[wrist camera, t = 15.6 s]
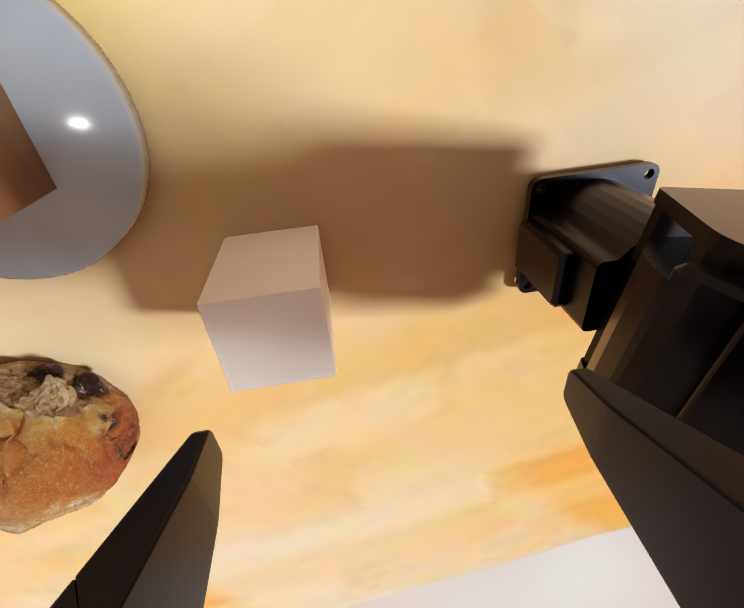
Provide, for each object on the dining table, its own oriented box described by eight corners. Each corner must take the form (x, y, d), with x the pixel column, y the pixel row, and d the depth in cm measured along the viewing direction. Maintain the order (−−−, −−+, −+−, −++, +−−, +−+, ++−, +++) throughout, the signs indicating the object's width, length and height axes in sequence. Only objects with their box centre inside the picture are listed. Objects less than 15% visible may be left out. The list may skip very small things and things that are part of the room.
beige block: (317, 224, 20) (320, 287, 15) (330, 300, 22) (336, 375, 17) (225, 236, 20) (196, 304, 15) (249, 312, 22) (231, 392, 17)
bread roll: (-24, 343, 25) (-178, 466, 20) (54, 320, 20) (-124, 478, 15) (103, 430, 30) (10, 546, 25) (190, 430, 25) (97, 574, 20)
